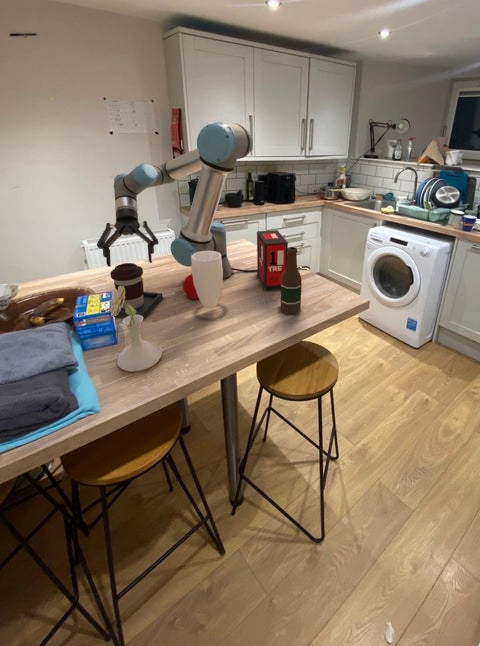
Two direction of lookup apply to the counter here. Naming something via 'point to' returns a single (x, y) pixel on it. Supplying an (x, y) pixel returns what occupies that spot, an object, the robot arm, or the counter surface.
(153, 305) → the black square tray
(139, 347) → the flower in vase
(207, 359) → the counter surface
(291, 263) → the beer bottle
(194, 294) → the fruit
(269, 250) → the cleaning product box
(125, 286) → the coffee cup
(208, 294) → the cup
